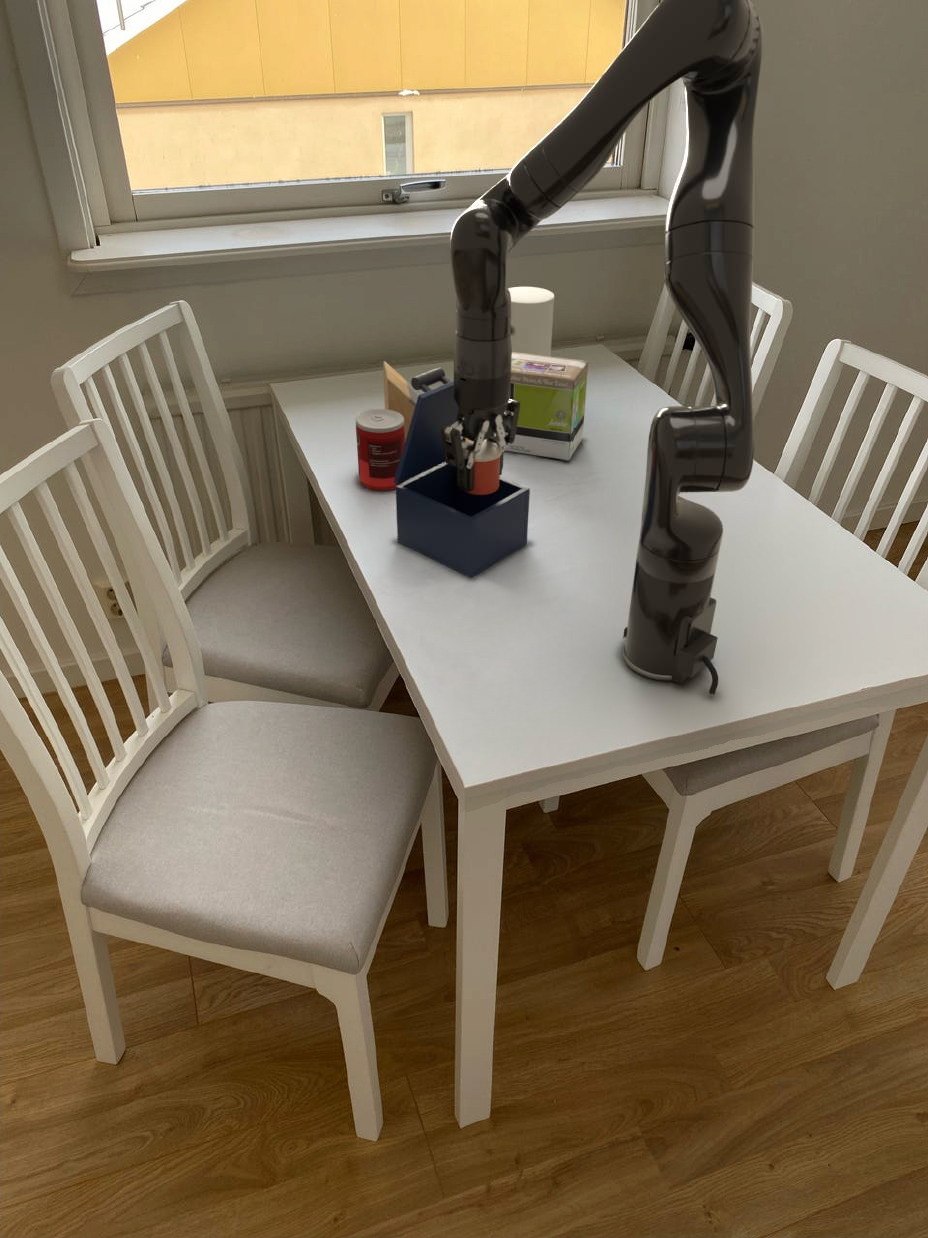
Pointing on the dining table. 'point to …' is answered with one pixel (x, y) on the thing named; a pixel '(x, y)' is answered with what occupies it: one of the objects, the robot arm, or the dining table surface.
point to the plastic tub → (486, 468)
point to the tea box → (548, 404)
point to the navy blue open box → (461, 520)
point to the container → (531, 320)
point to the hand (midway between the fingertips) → (480, 481)
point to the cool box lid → (427, 425)
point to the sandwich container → (400, 395)
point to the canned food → (379, 447)
